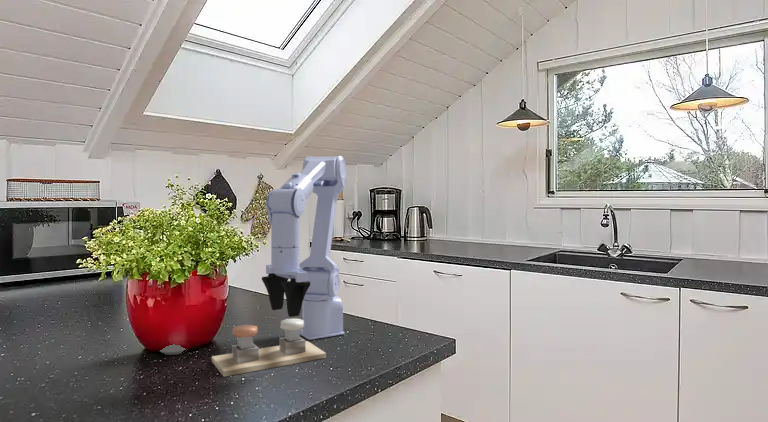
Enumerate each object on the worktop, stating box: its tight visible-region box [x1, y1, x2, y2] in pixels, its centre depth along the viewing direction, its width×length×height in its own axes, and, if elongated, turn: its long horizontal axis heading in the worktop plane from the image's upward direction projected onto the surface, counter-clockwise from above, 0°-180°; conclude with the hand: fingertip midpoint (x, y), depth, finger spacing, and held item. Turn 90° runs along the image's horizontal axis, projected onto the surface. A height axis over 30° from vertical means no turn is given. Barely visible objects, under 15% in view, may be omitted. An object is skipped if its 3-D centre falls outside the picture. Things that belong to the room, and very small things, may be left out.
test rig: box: [211, 336, 327, 377], centre depth 105 cm, size 21×10×4 cm, turn 121°
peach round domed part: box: [232, 324, 258, 349], centre depth 102 cm, size 5×5×4 cm
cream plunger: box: [280, 318, 304, 341], centre depth 107 cm, size 5×5×4 cm
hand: (285, 312), depth 105 cm, fingers open, 7 cm apart
